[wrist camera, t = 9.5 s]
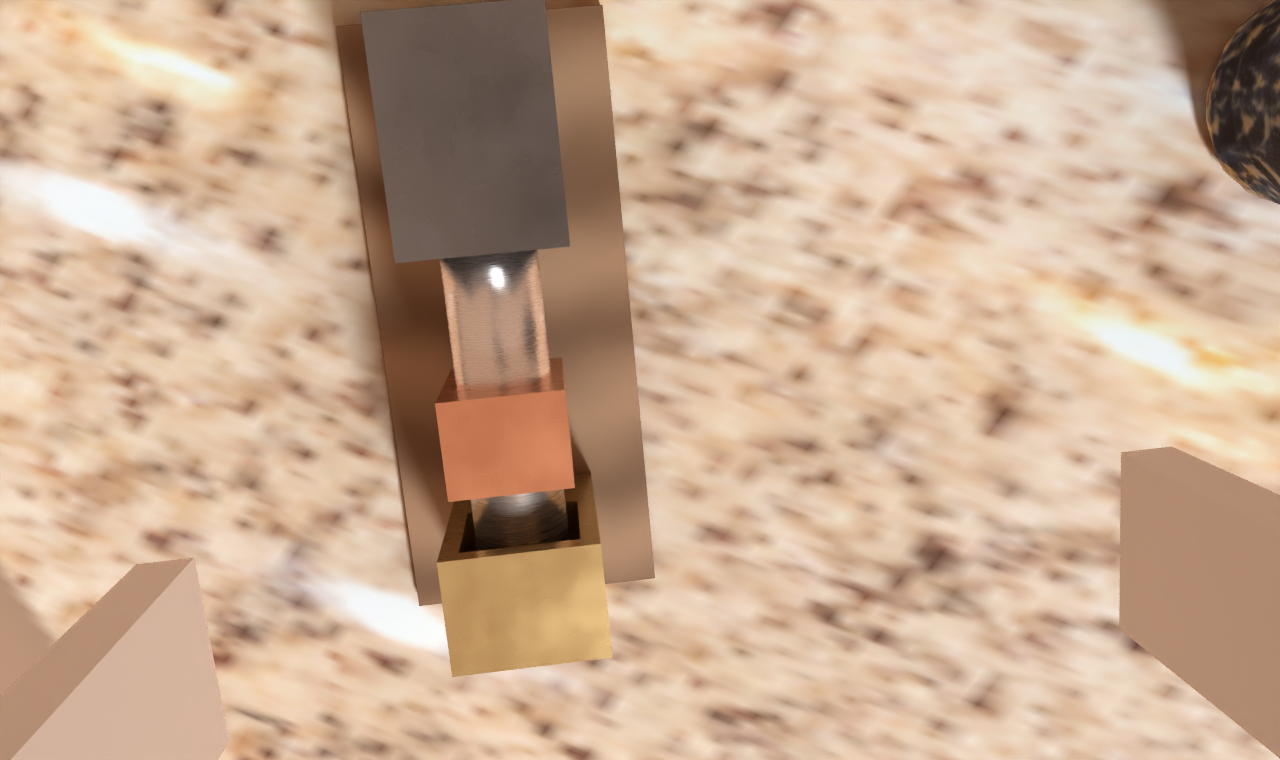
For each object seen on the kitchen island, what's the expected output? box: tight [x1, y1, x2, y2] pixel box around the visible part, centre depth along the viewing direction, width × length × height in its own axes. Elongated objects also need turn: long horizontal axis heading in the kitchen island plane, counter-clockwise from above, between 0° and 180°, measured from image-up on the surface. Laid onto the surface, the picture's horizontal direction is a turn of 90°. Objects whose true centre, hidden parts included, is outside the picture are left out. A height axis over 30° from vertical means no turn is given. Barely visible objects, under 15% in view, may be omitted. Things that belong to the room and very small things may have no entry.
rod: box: [435, 250, 575, 551], centre depth 43 cm, size 17×5×7 cm, turn 5°
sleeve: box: [360, 0, 570, 263], centre depth 43 cm, size 9×7×11 cm
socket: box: [437, 472, 612, 677], centre depth 47 cm, size 5×7×11 cm
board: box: [336, 5, 655, 606], centre depth 50 cm, size 28×12×1 cm, turn 5°
